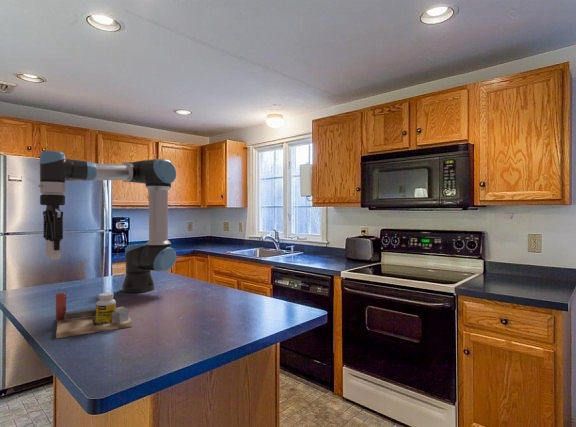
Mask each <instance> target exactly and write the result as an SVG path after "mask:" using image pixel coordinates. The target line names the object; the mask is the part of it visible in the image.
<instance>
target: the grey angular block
mask: <svg viewBox="0 0 576 427" xmlns="http://www.w3.org/2000/svg"><path fill="white" fill-rule="evenodd" d="M129 312H130V311H129V307H124V308H119V309H117V310H115V311H113V312H112V324H119V329H122V328H121V323H123V322H125V321H126V320H128V319H129V317H130V316H129V314H130V313H129Z"/></svg>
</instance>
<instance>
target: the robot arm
mask: <svg viewBox="0 0 576 427" xmlns="http://www.w3.org/2000/svg"><path fill="white" fill-rule="evenodd" d="M176 178H177V170H176V168H175V165H174V164H173V163H172V162H171V160H169V159H165V158H156V159H155V158H154V159H141V160H137V161H130V162H128V161H125V162H122V163H96V162H95V163H94V162H92V161H88V160H80V159H79V160H78V159H72V158H71V159H70V158H66V154H65V153H64V151H58V150H42V151H41V152H40V156H39V181H40V182H39V184H38V188H39V192H40V195H39V204H40V205H41V206H46V208H45V210H43V211H42V215H43V235H42V236H43V239H44V240H45V259H50V260H51V261H56V260H61V242H62V240H63V239H64V230H63V228H64V226H63V225H64V224H63V223H64V222H63V220H64V219H63V218H64V212H63V211H61V210H60V208H61V207H60V206H64V205H66V196H65V195H64V194H66V182H68V181H69V182H72V181H75V182H76V181H85V182H87V181H88V182H89V181H122V182H124V183H134V184H145V188H146V189H147V190H148V232H149V233H148V241H146V243H138V244H130V245H129V244H128V245H127V246H126V247H125V276H124V279H123V282H122V286H121V291H122V292H123V293H126V294H127V293H130V294H133V293H144V292H150V291H153V290H154V289H155V282H154V278H153V276H152V272H151V271H155V272H167V271H169V270H171V269H172V268H173V266H175V263H176V261H177V253H176V250H175V249H174V248H172V243H171V241H170V240H169V211H168V210H169V201H168V199H169V190H170V189H171V188H172V183H174V181H175V180H176Z"/></svg>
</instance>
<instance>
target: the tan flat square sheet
mask: <svg viewBox="0 0 576 427" xmlns="http://www.w3.org/2000/svg"><path fill="white" fill-rule="evenodd" d="M119 308H125V306H119V307H117V306H116V310H117V309H119ZM94 324H95V325H94ZM130 327H133V321H132V319H131V318H130V316H129V319H128V320H126V321H125V322H123V323H121V328H120V329H124V328H130ZM118 329H119V324H112V323H109V324H103V325H96V316H89V317H82V318H75V319H67V320H62V321H57V324H56V334H55V336H56V337H55V338H56V339H60V338H68V337H69V338H70V337H74V336H78V335H79V336H80V335H81V336H82V335H86V334H92V333H98V332H105V331H112V330H118Z"/></svg>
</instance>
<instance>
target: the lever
mask: <svg viewBox="0 0 576 427" xmlns="http://www.w3.org/2000/svg"><path fill="white" fill-rule="evenodd" d="M89 316H96V307H95V308H87V309H82V310H81V309H80V310H74V311H73V310H72V311H67V292H59V293H58V292H57V293H56V294H55V322H58V321H62V320H67V319H75V318H82V317H89Z"/></svg>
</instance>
